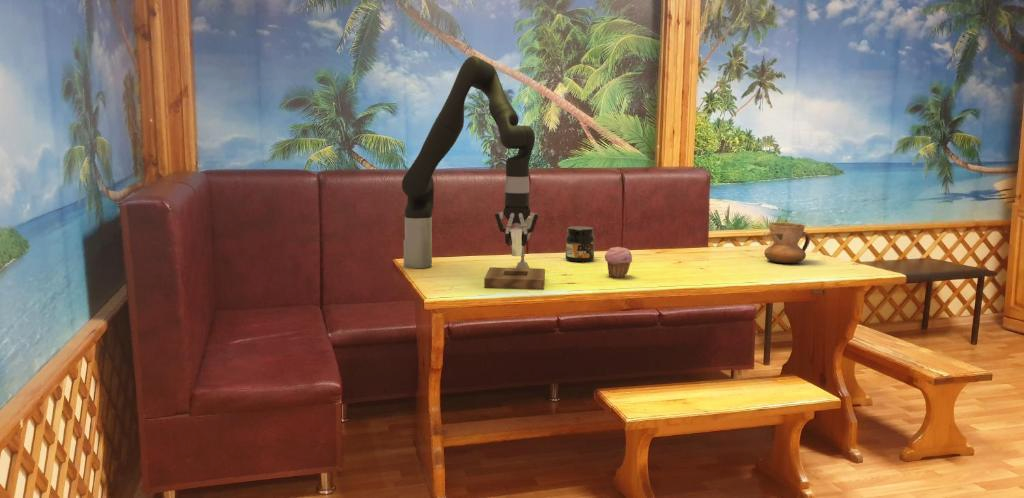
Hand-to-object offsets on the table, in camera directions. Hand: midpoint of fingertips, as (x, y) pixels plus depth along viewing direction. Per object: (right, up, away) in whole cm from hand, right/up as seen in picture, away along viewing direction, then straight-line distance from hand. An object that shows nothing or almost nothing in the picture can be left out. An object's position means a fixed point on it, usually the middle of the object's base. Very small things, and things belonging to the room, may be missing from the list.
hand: (516, 245), depth 249 cm
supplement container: (+23, -6, +43) cm, 49 cm away
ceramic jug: (+100, -6, +45) cm, 110 cm away
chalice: (+2, -8, +24) cm, 26 cm away
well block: (0, -12, +2) cm, 12 cm away
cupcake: (+34, -11, +14) cm, 38 cm away
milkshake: (0, -3, +1) cm, 3 cm away
